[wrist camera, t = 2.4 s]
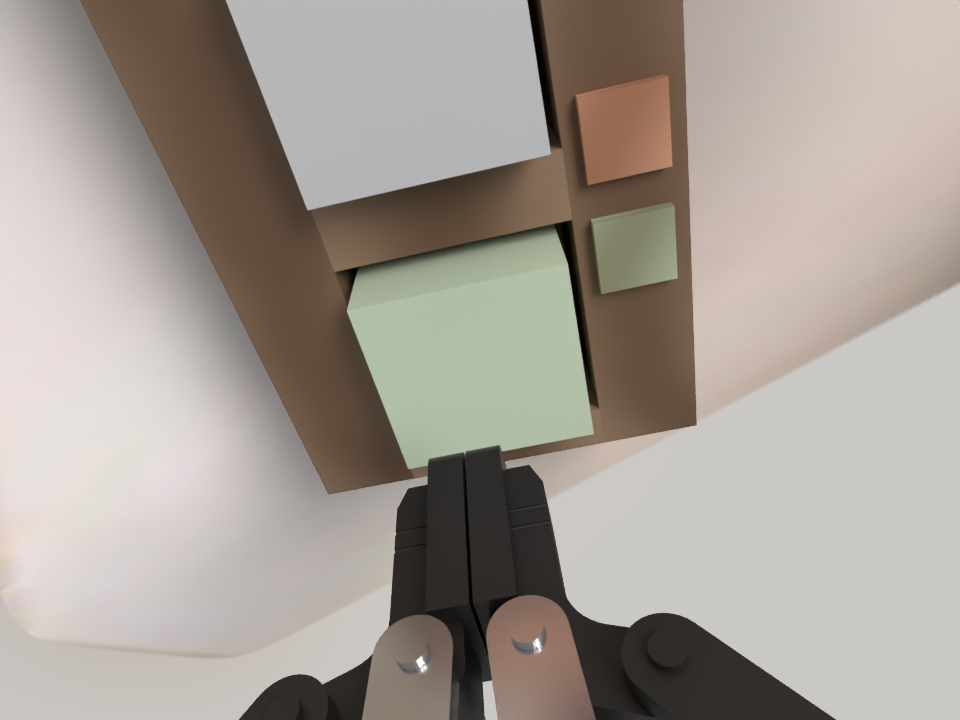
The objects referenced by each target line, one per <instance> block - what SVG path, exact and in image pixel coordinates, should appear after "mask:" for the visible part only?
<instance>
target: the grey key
mask: <svg viewBox="0 0 960 720" xmlns="http://www.w3.org/2000/svg"><path fill="white" fill-rule="evenodd" d="M226 2H227V5H228V7H229V10H230V12H231V15H232V18H233V20H234V23H235V25H236V28H237V30H238V33H239V36H240V38H241V41H242V43H243V46H244V48H245V51H246V54H247V56H248V59H249V61H250V64H251V66H252V69H253V72H254V74H255V77H256V79H257V82H258V84H259V87H260V90H261V92H262V95H263V97H264V100H265V102H266V105H267V107H268V110H269V113H270V115H271V118H272V120H273V123H274V125H275V128H276V131H277V133H278V136H279V138H280V141H281V143H282V146H283V149H284V151H285V154H286V156H287V159H288V161H289V164H290V167H291V169H292V172H293V174H294V177H295V179H296V182H297V185H298V187H299V190H300V192H301V195H302V197H303V200H304V203H305V205H306V208H307V210H311V209H316V208H320V207H324V206H329V205H333V204H338V203H342V202H346V201H351V200H355V199H359V198H364V197H368V196H372V195H377V194H381V193H385V192H390V191H394V190H399V189H403V188H407V187H412V186H416V185H420V184H425V183H429V182H433V181H438V180H442V179H446V178H451V177H455V176H459V175H464V174H468V173H473V172H477V171H481V170H486V169H490V168H494V167H499V166H503V165H507V164H512V163H516V162H520V161H525V160H529V159H533V158H538V157H542V156H547V155H551V151H550V145H549V138H548V132H547V125H546V119H545V112H544V106H543V99H542V93H541V86H540V80H539V73H538V67H537V60H536V54H535V47H534V41H533V34H532V28H531V21H530V15H529V8H528V2H527V0H226Z"/></svg>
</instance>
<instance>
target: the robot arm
mask: <svg viewBox="0 0 960 720" xmlns="http://www.w3.org/2000/svg"><path fill="white" fill-rule="evenodd" d="M491 680H492V682H493V689H494V695H495V702H496V708H497V715H498V720H836V719H834V718H833V717H831V716H830V715H828V714H827V713H825V712H824V711H822V710H821V709H820V708H818V707H817V706H815V705H814V704H812V703H811V702H809V701H808V700H806V699H805V698H803V697H802V696H801V695H799V694H798V693H796V692H795V691H793V690H792V689H790V688H789V687H787V686H786V685H785V684H783V683H782V682H780V681H779V680H777V679H776V678H774V677H773V676H771V675H770V674H769V673H767V672H766V671H764V670H763V669H761V668H760V667H758V666H757V665H755V664H754V663H752V662H751V661H750V660H748V659H746V658H745V657H744V656H742V655H741V654H739V653H738V652H736V651H735V650H733V649H732V648H731V647H729V646H728V645H726V644H725V643H723V642H722V641H720V640H719V639H717V638H716V637H715V636H713V635H712V634H710V633H709V632H707V631H706V630H704V629H703V628H701V627H700V626H698V625H697V624H696V623H694V622H692V621H691V620H689V619H687V618H684V617H682V616H680V615H675V614H669V613H656V614H652V615H648V616H645V617H643V618H641V619H640V620H638V621H636V622H635V623H634V624H633V625H632V626H631V627H630V628H628V627H621V626H615V625H608V624H602V623H598V622H595V621H593V620H590V619H588V618H587V617H585V616H583V615H582V614H580V613H579V612H578V611H577V610H576V609H575V608H574V607H573V606H572V605H571V604H570V602H569V601H568V599H567V597H566V594H565V588H564V583H563V578H562V573H561V567H560V562H559V558H558V552H557V547H556V541H555V536H554V532H553V527H552V522H551V517H550V513H549V508H548V503H547V499H546V494H545V490H544V485H543V481H542V480H541V479H540V478H539V476H538V475H537V474H536V473H535V472H534V470H533V469H532V468H531V467H530V466H529V465H526V466H521V467H516V468H511V469H506V465H505V461H504V457H503V454H502V450H501V447H500V445H496V446H491V447H486V448H481V449H476V450H470V451H466V452H465V454H464V452H461V453H456V454H451V455H446V456H441V457H436V458H431V459H429V461H428V485H424V486H419V487H414V488H409V489H408V490H407V492H406V494H405V496H404V498H403V500H402V502H401V503H400V505H399V507H398V509H397V521H396V536H395V554H394V566H393V580H392V596H391V610H390V621H389V627H388V629H387V630H386V631H385V632H384V633H383V635H382V636H381V637H380V639H379V641H378V642H377V644H376V646H375V649H374V652H373V654H372V655H371V656H370V657H369V658H368V659H367V660H366V661H364V662H363V663H362V664H360V665H359V666H357V667H355V668H354V669H352V670H350V671H348V672H346V673H344V674H342V675H340V676H338V677H336V678H334V679H332V680H330V681H329V682H327V683H325V684H323V685H322V684H321V683H320V682H319V681H318V680H317V679H315V678H313V677H312V676H308V675H301V674H298V675H292V676H288V677H285V678H283V679H281V680H278V681H277V682H275V683H274V684H272V685H271V686H269V687H268V688H267V689H266V690H265V691H264V692H263V693H262V694H261V695H260V696H259V697H258V698H257V699H256V700H255V702H254V703H253V704H252V705H251V706H250V707H249V709H248V710H247V711H246V712H245V713H244V714H243V715H242V717H241V718H240V719H239V720H486V719H485V716H484V699H483V683H482V682H485V681H491Z"/></svg>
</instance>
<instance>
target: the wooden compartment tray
mask: <svg viewBox="0 0 960 720" xmlns="http://www.w3.org/2000/svg"><path fill="white" fill-rule="evenodd" d="M80 1H81V3H82V5H83V7H84V9H85V11H86V13H87V15H88V17H89V19H90V21H91V23H92V25H93V27H94V29H95V31H96V33H97V35H98V37H99V39H100V41H101V43H102V45H103V47H104V49H105V51H106V53H107V55H108V57H109V59H110V61H111V63H112V65H113V67H114V68H115V70H116V72H117V74H118V76H119V78H120V80H121V82H122V84H123V86H124V88H125V90H126V92H127V94H128V96H129V98H130V100H131V102H132V104H133V106H134V108H135V110H136V112H137V114H138V116H139V118H140V120H141V122H142V124H143V126H144V128H145V130H146V132H147V134H148V136H149V138H150V140H151V142H152V144H153V146H154V148H155V150H156V152H157V154H158V156H159V158H160V160H161V162H162V164H163V166H164V168H165V170H166V172H167V174H168V176H169V178H170V180H171V182H172V184H173V186H174V188H175V190H176V192H177V194H178V196H179V198H180V200H181V202H182V204H183V206H184V208H185V210H186V212H187V214H188V216H189V218H190V220H191V222H192V224H193V226H194V227H195V229H196V231H197V233H198V235H199V237H200V239H201V241H202V243H203V245H204V247H205V249H206V251H207V253H208V255H209V257H210V259H211V261H212V263H213V265H214V267H215V269H216V271H217V273H218V275H219V277H220V279H221V281H222V283H223V285H224V287H225V289H226V291H227V293H228V295H229V297H230V299H231V301H232V303H233V305H234V307H235V309H236V311H237V313H238V315H239V317H240V319H241V321H242V323H243V325H244V327H245V329H246V331H247V333H248V335H249V337H250V339H251V341H252V343H253V345H254V347H255V349H256V351H257V353H258V355H259V357H260V359H261V361H262V363H263V365H264V367H265V369H266V371H267V373H268V375H269V377H270V379H271V381H272V383H273V385H274V386H275V388H276V390H277V392H278V394H279V396H280V398H281V400H282V402H283V404H284V406H285V408H286V410H287V412H288V414H289V416H290V418H291V420H292V422H293V424H294V426H295V428H296V430H297V432H298V434H299V436H300V438H301V440H302V442H303V444H304V446H305V448H306V450H307V452H308V454H309V456H310V458H311V460H312V462H313V464H314V466H315V468H316V470H317V472H318V474H319V476H320V478H321V480H322V482H323V484H324V486H325V488H326V490H327V492H328V494H333V493H338V492H344V491H349V490H354V489H360V488H365V487H370V486H376V485H381V484H386V483H392V482H397V481H402V480H407V479H413V478H418V477H423V476H428V466H423V467H418V468H412V469H408V467H407V464H406V462H405V459H404V457H403V454H402V452H401V449H400V446H399V444H398V441H397V439H396V436H395V434H394V431H393V429H392V426H391V423H390V421H389V418H388V416H387V413H386V411H385V408H384V405H383V403H382V400H381V398H380V395H379V393H378V390H377V387H376V385H375V382H374V380H373V377H372V375H371V372H370V369H369V367H368V364H367V362H366V359H365V357H364V354H363V351H362V349H361V346H360V344H359V341H358V339H357V336H356V333H355V331H354V328H353V326H352V323H351V321H350V318H349V316H348V313H347V308H348V304H349V301H350V297H351V293H352V289H353V286H354V282H355V278H356V274H357V271H358V267H360V266H364V265H369V264H373V263H378V262H382V261H387V260H391V259H396V258H401V257H405V256H410V255H414V254H419V253H423V252H428V251H432V250H437V249H441V248H446V247H451V246H455V245H460V244H464V243H469V242H473V241H478V240H482V239H487V238H491V237H496V236H501V235H505V234H510V233H514V232H519V231H523V230H528V229H532V228H537V227H541V226H546V225H551V224H554V226H555V229H556V232H557V234H558V237H559V240H560V243H561V246H562V249H563V251H564V254H565V257H566V260H567V263H568V268H569V275H570V281H571V288H572V294H573V301H574V307H575V314H576V320H577V327H578V333H579V340H580V346H581V353H582V359H583V366H584V372H585V379H586V385H587V392H588V398H589V405H590V411H591V418H592V424H593V431H594V434H592V435H586V436H581V437H576V438H571V439H565V440H560V441H555V442H549V443H544V444H539V445H534V446H528V447H523V448H518V449H512V450H507V451H502V454H503V457H504V461H508V460H514V459H519V458H524V457H530V456H535V455H540V454H546V453H551V452H556V451H562V450H567V449H572V448H578V447H583V446H588V445H594V444H599V443H604V442H610V441H615V440H620V439H625V438H631V437H636V436H641V435H647V434H652V433H657V432H663V431H668V430H673V429H679V428H684V427H689V426H695V425H696V394H695V363H694V332H693V301H692V270H691V239H690V208H689V176H688V145H687V114H686V83H685V52H684V21H683V0H527V2H528V8H529V15H530V21H531V28H532V34H533V41H534V47H535V54H536V60H537V67H538V73H539V80H540V86H541V93H542V99H543V106H544V112H545V119H546V125H547V132H548V138H549V145H550V151H551V155H547V156H542V157H538V158H533V159H529V160H525V161H520V162H516V163H512V164H507V165H503V166H499V167H494V168H490V169H486V170H481V171H477V172H473V173H468V174H464V175H459V176H455V177H451V178H446V179H442V180H438V181H433V182H429V183H425V184H420V185H416V186H412V187H407V188H403V189H399V190H394V191H390V192H385V193H381V194H377V195H372V196H368V197H364V198H359V199H355V200H351V201H346V202H342V203H338V204H333V205H329V206H324V207H320V208H316V209H311V210H307V208H306V205H305V203H304V200H303V197H302V195H301V192H300V190H299V187H298V185H297V182H296V179H295V177H294V174H293V172H292V169H291V167H290V164H289V161H288V159H287V156H286V154H285V151H284V149H283V146H282V143H281V141H280V138H279V136H278V133H277V131H276V128H275V125H274V123H273V120H272V118H271V115H270V113H269V110H268V107H267V105H266V102H265V100H264V97H263V95H262V92H261V90H260V87H259V84H258V82H257V79H256V77H255V74H254V72H253V69H252V66H251V64H250V61H249V59H248V56H247V54H246V51H245V48H244V46H243V43H242V41H241V38H240V36H239V33H238V30H237V28H236V25H235V23H234V20H233V18H232V15H231V12H230V10H229V7H228V5H227V2H226V0H80Z"/></svg>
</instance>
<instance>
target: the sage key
mask: <svg viewBox="0 0 960 720" xmlns="http://www.w3.org/2000/svg"><path fill="white" fill-rule="evenodd" d="M347 313H348V316H349V318H350V321H351V323H352V326H353V328H354V331H355V333H356V336H357V339H358V341H359V344H360V346H361V349H362V351H363V354H364V357H365V359H366V362H367V364H368V367H369V369H370V372H371V375H372V377H373V380H374V382H375V385H376V387H377V390H378V393H379V395H380V398H381V400H382V403H383V405H384V408H385V411H386V413H387V416H388V418H389V421H390V423H391V426H392V429H393V431H394V434H395V436H396V439H397V441H398V444H399V446H400V449H401V452H402V454H403V457H404V459H405V462H406V464H407V467H408V469H412V468H418V467H423V466H428V461H429V459H431V458H436V457H441V456H446V455H451V454H456V453H461V452H464V454H465V452H466V451H470V450H476V449H481V448H486V447H491V446H496V445H500V447H501V450H502V451H507V450H512V449H518V448H523V447H528V446H534V445H539V444H544V443H549V442H555V441H560V440H565V439H571V438H576V437H581V436H586V435H592V434H594V431H593V424H592V418H591V411H590V405H589V398H588V392H587V385H586V379H585V372H584V366H583V359H582V353H581V346H580V340H579V333H578V327H577V320H576V314H575V307H574V301H573V294H572V288H571V281H570V275H569V268H568V263H567V260H566V257H565V254H564V251H563V249H562V246H561V243H560V240H559V237H558V234H557V232H556V229H555V226H554V224H551V225H546V226H541V227H537V228H532V229H528V230H523V231H519V232H514V233H510V234H505V235H501V236H496V237H491V238H487V239H482V240H478V241H473V242H469V243H464V244H460V245H455V246H451V247H446V248H441V249H437V250H432V251H428V252H423V253H419V254H414V255H410V256H405V257H401V258H396V259H391V260H387V261H382V262H378V263H373V264H369V265H364V266H360V267H358V271H357V274H356V278H355V282H354V286H353V289H352V293H351V297H350V301H349V304H348V308H347Z"/></svg>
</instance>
